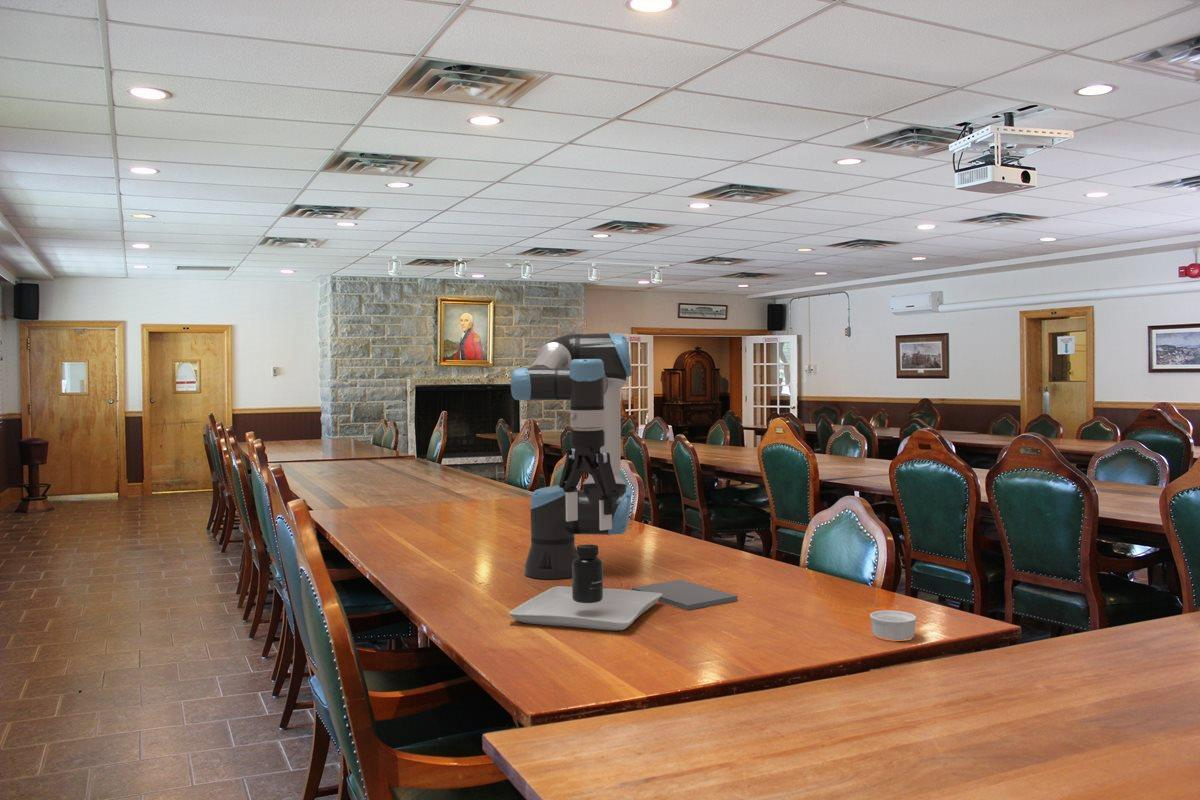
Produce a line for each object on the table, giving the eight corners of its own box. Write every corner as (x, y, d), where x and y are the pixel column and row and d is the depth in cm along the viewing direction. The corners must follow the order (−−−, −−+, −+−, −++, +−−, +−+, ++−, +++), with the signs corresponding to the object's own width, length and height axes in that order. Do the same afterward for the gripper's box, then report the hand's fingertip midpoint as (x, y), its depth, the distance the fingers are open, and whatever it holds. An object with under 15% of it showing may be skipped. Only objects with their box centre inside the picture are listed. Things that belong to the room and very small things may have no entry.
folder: (680, 584, 230) (680, 579, 230) (737, 600, 212) (737, 595, 212) (632, 592, 221) (632, 587, 221) (687, 610, 204) (687, 605, 204)
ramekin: (893, 645, 177) (893, 623, 177) (860, 634, 185) (860, 613, 184) (926, 639, 181) (926, 617, 181) (892, 628, 189) (892, 607, 188)
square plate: (664, 607, 210) (664, 590, 210) (628, 640, 184) (628, 621, 184) (555, 598, 219) (554, 582, 219) (506, 628, 193) (506, 610, 193)
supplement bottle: (599, 604, 198) (599, 549, 197) (569, 603, 199) (568, 548, 199) (606, 596, 204) (605, 543, 204) (576, 595, 206) (575, 542, 205)
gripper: (543, 426, 209) (544, 518, 210) (605, 433, 188) (606, 535, 189) (571, 425, 213) (572, 515, 214) (634, 431, 192) (635, 531, 193)
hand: (588, 525), depth 201 cm, fingers open, 13 cm apart
